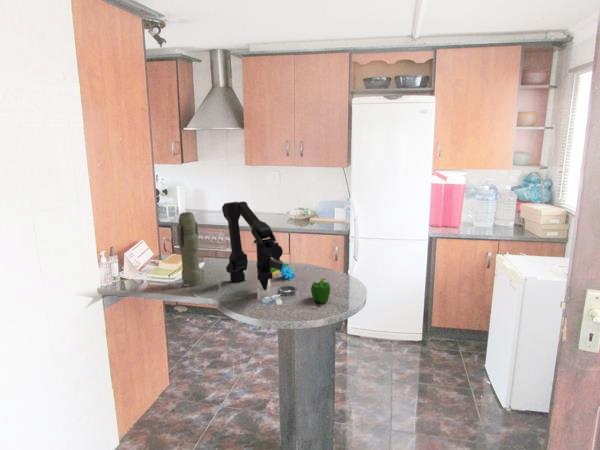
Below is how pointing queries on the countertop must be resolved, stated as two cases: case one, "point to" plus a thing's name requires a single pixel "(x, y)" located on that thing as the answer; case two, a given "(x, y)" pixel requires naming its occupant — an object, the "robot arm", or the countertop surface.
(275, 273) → the dish sponge
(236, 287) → the countertop surface
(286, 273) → the gear
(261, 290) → the knob
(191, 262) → the thermos
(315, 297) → the bell pepper
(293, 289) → the hub plate
